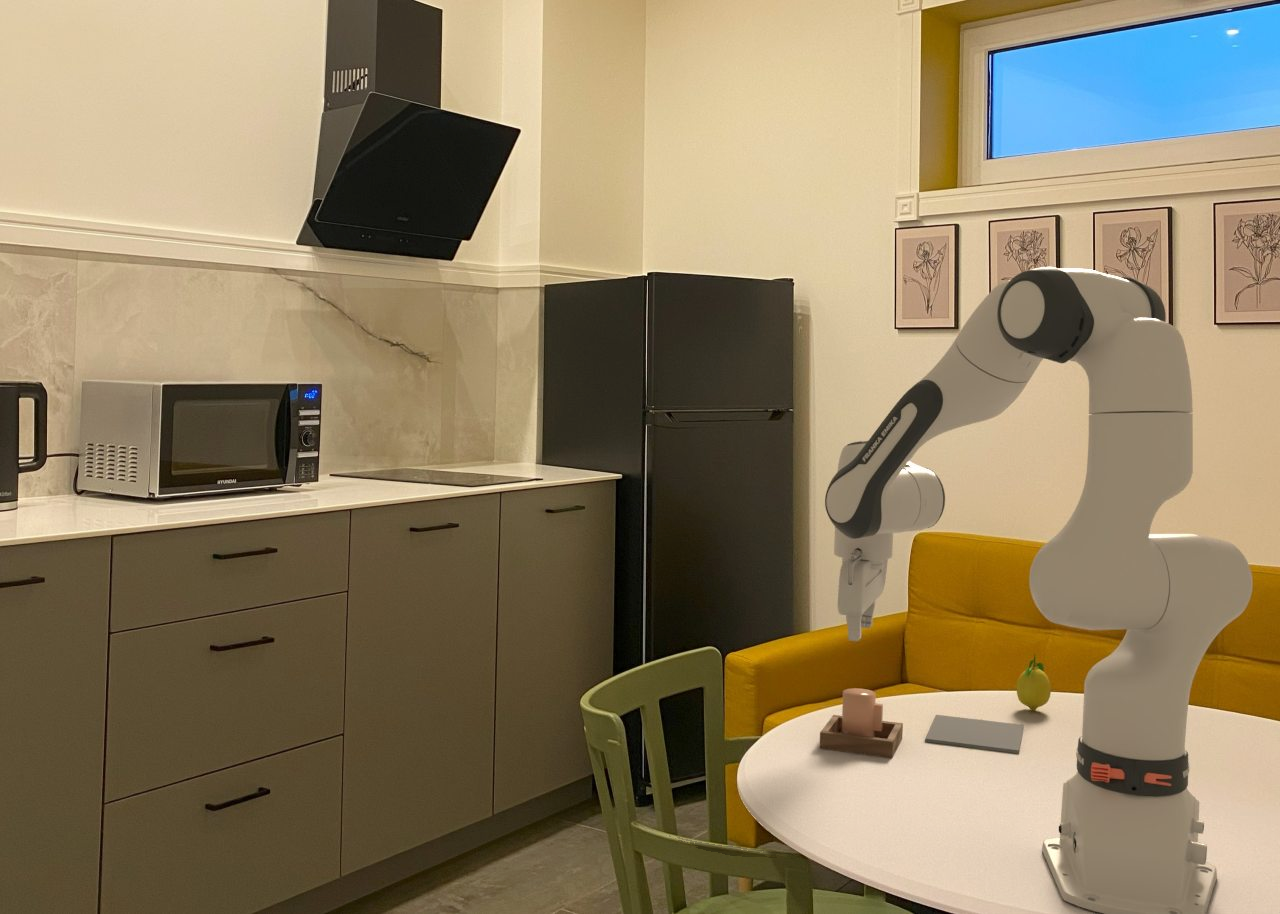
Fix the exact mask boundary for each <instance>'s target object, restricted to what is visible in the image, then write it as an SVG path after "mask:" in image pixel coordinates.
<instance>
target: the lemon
mask: <svg viewBox="0 0 1280 914" xmlns="http://www.w3.org/2000/svg"><path fill="white" fill-rule="evenodd" d="M1036 657H1037V655H1036V653H1034V654H1033V660H1030V661H1029V664H1028V666H1027V667H1026V668H1025V670H1024V671H1023V672H1021V674H1020V675H1019V677H1018V679H1017V683H1016V695H1017V699H1018V701H1019V702H1020V703H1021V704H1022V705H1024V706H1026V707H1027V708H1029V710H1030V711H1032V712H1033V711H1034V712H1035V711H1036V710H1037V709H1038V708H1040V707H1042V706H1044V705H1046V704H1047V703H1048V702H1049V700H1050V698H1051V693H1052V692H1051V691H1052V690H1051V683H1050V680H1049V677H1048V675H1047V674H1046V673H1045V667H1044V665H1043V663H1042V662H1038V663H1036Z"/></svg>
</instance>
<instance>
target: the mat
mask: <svg viewBox="0 0 1280 914" xmlns="http://www.w3.org/2000/svg"><path fill="white" fill-rule="evenodd" d="M1024 728H1025V727H1024V724H1021V723H1010V722H1002V721H994V720H985V719H979V718H978V719H976V718H969V717H968V718H967V717H960V716H959V717H958V716H951V715H943V714H942V715H941V714H935V715H934V718H933V721H932V723H931V725H930V727H929V729H928V732H927V733H926V735H925V738H924V742H925V743H933V744H940V745H948V746H956V747H957V746H958V747H963V748H973V749H981V750H987V751H989V750H990V751H996V752H1003V753H1009V754H1010V753H1013V754H1020V751H1021V745H1022V741H1023V740H1022V738H1023V734H1024Z"/></svg>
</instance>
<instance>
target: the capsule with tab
mask: <svg viewBox="0 0 1280 914" xmlns="http://www.w3.org/2000/svg"><path fill="white" fill-rule="evenodd" d="M841 706H842V709H841V710H842V713H841V716H842V733H845V734H853V735H860V736H868V737H874V733H875V731H882V721H883V714H884V713H883V712H884V710H883V709H884V707H883V706H884V704H883V703H876V692H874V690H871V689H865V688H856V687H854V688H846V689H844V690H842V705H841Z"/></svg>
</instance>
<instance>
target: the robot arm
mask: <svg viewBox="0 0 1280 914" xmlns="http://www.w3.org/2000/svg"><path fill="white" fill-rule="evenodd" d="M1165 309H1166V308H1165V304H1164V302H1163V300H1162V298H1161V296H1160V295H1159V294H1158V292H1157V291H1156V290H1155V289H1154V288H1152V287H1150V286H1149V285H1148V284H1145V283H1143V282H1141V281H1139V280H1137V279H1134V278H1130V277H1127V276H1125V277H1124V276H1120V277H1119V276H1117V275H1116V276H1115V275H1111V274H1109V273H1108V274H1107V273H1103V272H1099V271H1096V270H1093V269H1087V268H1085V269H1084V268H1059V267H1058V268H1057V267H1055V266H1044V267H1043V266H1042V267H1037V268H1036V267H1035V268H1031V269H1028V270H1024V271H1022V272H1020V273H1018V274H1016V275H1015V276H1014V277H1013V278H1011V279H1007V280H1004V281H1002V282H1001V283H999V284H997V285H996V286H995V287H994V288H993V289H992V290H991V291H990V292H989V293H988V294H987V295H986V296H985V298H984V299H983V300H982V301H981V302H980V304H979V305H978V306H977V307H976V309H974V310H973V312H972V313H971V315H970V316H969V318H968V319H967V320H966V322H965V323H964V325H963V327H961V330H960V331H959V333H958V334H957V336H956V337H955V339H954V340H953V342H952V344H951V346H950V347H949V348H948V349H947V351H946V352H945V354H944V355H943V356H942V357H941V358H940V360H938V362H937V363H936V364H935V366H934V367H933V368H932V369H931V370H930V371H928V373H927V374H925V375H924V377H922V378H921V379H920V380H919V381H918V382H916V383H915V384H914V385H912V386H911V387H910V388H909V389H908V390H907V391H906V392H905V393H904V394H903V395H902V396H901V397H900V399H899V400H898V401H897V402H896V404H895V405H894V406H893V408H892V409H891V410H890V411H889V413H888V414H887V415H886V417H884V419H883V421H881V423H880V425H879V426H878V427H877V428H876V429H875V431H874V433H873V434H872V435H871V437H870V438H869V439H868V440H862V441H861V440H859V441H853V442H850V443H848V444H847V445H845V446H843V448H842V450H841V452H840V455H839V457H838V458H839V459H838V464H837V470H836V471H837V472H836V473H835V474H834V476H833V477H832V478H831V480H830V482H829V483H828V487H827V489H826V492H825V498H824V499H825V500H824V507H825V511H826V514H827V516H828V518H829V520H830V522H831V523H832V524H833V526H834V544H833V545H834V546H833V547H834V549H833V554H834V556H836V557H839V558H841V566H840V569H839V576H838V577H839V579H838V591H837V592H838V593H837V612H838V614H839V615H840V616H841V615H843V616H845V619H846V625H847V639H848V641H850V642H851V641H852V642H859V641H860V640H861V638H862V634H863V633H862V632H863V631H862V630H863V629H870V628H871V627H872V626H873V621H874V620H873V619H874V614H875V613H874V612H875V607H876V601H877V599H878V598H879V597H880V596H881V595H882V594H883V592H884V589H885V585H886V578H887V572H888V571H887V570H888V561H889V560H890V559H891V558H893V546H894V544H893V543H894V534H898V533H899V534H900V533H905V532H915V531H922V530H926V529H929V528H932V527H934V526H935V525H936V524H937V523H939V520H940V518H941V517H942V515H943V513H944V510H945V505H946V495H945V492H946V491H945V488H944V485H943V483H942V481H941V479H940V477H939V476H938V475H937V474H936V473H935V472H934V471H933V470H931V469H930V468H927V467H922V466H921V465H918V464H916V463H914V462H912V461H911V459H912V458H913V457H914V455H915V454H916V453H917V451H919V450H920V448H922V446H923V445H924V444H926V443H927V442H929V441H930V440H932V439H934V438H936V437H937V436H940V435H942V434H944V433H946V432H949V431H953V430H955V429H958V428H961V427H965V426H970V425H972V424H977V423H981V422H984V421H988V420H991V419H993V418H996V417H998V416H999V415H1001V414H1002V413H1003V412H1005V410H1006V409H1008V408H1009V407H1010V406H1011V405H1012V404H1013V403H1014V402H1015V401H1016V400H1017V398H1018V397H1020V395H1021V394H1022V392H1023V391H1024V389H1025V387H1026V386H1027V385H1028V383H1029V381H1030V380H1031V378H1032V377H1033V375H1034V374H1035V372H1036V370H1037V369H1038V367H1039V366H1040V364H1041V362H1042V361H1043V359H1046V360H1049V361H1052V362H1055V363H1058V364H1066V363H1067V362H1068V361H1070V362H1075V363H1076V364H1078V365H1080V366H1081V367H1082V369H1083V370H1084V371H1085V374H1086V376H1087V380H1088V438H1087V439H1088V442H1087V444H1088V445H1087V446H1088V447H1087V448H1088V449H1087V461H1086V462H1087V464H1086V474H1085V480H1084V485H1083V489H1082V493H1081V495H1080V498H1079V500H1078V503H1077V505H1076V507H1075V509H1074V511H1073V512H1072V515H1071V516H1070V517H1069V519H1068V520H1067V522H1066V524H1065V525H1064V526H1063V528H1061V530H1060V531H1059V532H1058V533H1057V534H1056V535H1055V536H1054V537H1052V538H1051V539H1050V540H1049V541H1048V542H1046V543H1044V545H1042V547H1041V548H1040V549H1039V550H1038V552H1037V553H1036V555H1035V556H1034V558H1033V561H1032V563H1031V565H1030V569H1029V578H1028V580H1029V581H1028V582H1029V584H1028V585H1029V590H1030V594H1031V598H1032V600H1033V603H1034V604H1035V606H1036V608H1037V609H1038V610H1039V612H1040V613H1041V614H1042V616H1044V618H1045V619H1046V620H1048V621H1049V622H1051V623H1054V624H1055V625H1056V624H1057V625H1061V626H1066V627H1070V628H1076V629H1082V630H1088V631H1113V630H1115V631H1118V630H1119V631H1120V630H1126V632H1125V635H1124V636H1123V639H1122V640H1121V642H1120V643H1119V645H1118V646H1117V648H1116V649H1114V651H1112V652H1111V653H1110V654H1109V655H1108V656H1106V657H1105V658H1103V659H1101V660H1099V661H1098V662H1096V664H1094V665H1093V666H1091V668H1090V669H1089V671H1088V673H1087V674H1086V677H1085V679H1084V682H1083V683H1084V684H1083V685H1084V687H1083V689H1084V690H1083V704H1082V705H1083V706H1082V707H1083V710H1082V711H1083V712H1082V732H1081V733H1082V735H1081V736H1080V737H1079V738H1078V741H1077V742H1078V743H1077V747H1076V751H1075V753H1076V755H1075V756H1076V757H1075V758H1076V770H1077V772H1076V773H1075V774H1074V775H1073V776H1072V777H1071V778H1070V779H1068V780H1067V781H1065V782H1064V783H1063V784H1062V793H1061V795H1062V796H1061V797H1062V799H1061V811H1060V823H1059V825H1058V833H1059V837H1053V838H1047V839H1045V840H1043V841H1042V847H1041V850H1042V852H1043V855H1044V858H1045V861H1046V863H1047V865H1048V867H1049V870H1050V873H1051V874H1052V876H1053V879H1054V882H1055V884H1056V885H1057V889H1058V892H1059V894H1060V895H1061V898H1062V899H1063V900H1064V901H1066V902H1067V903H1069V904H1072V905H1075V906H1077V907H1079V908H1082V909H1086V910H1089V911H1092V912H1096V913H1101V914H1207V912H1208V908H1209V904H1210V902H1211V901H1210V900H1211V898H1212V894H1213V891H1214V887H1215V884H1216V881H1217V878H1218V875H1217V874H1218V871H1217V867H1216V866H1215V865H1214V864H1212V863H1210V862H1207V854H1208V844H1206V843H1205V842H1199V834H1201V835H1202V834H1204V830H1205V829H1204V828H1205V823H1204V821H1202V820H1199V819H1200V801H1199V799H1197V798H1196V796H1195V795H1193V794H1192V793H1191V792H1190V791H1189V790H1188V787H1189V774H1190V762H1189V753H1188V751H1187V749H1186V737H1187V736H1186V733H1187V724H1188V723H1187V721H1188V712H1189V710H1188V709H1189V700H1190V694H1191V688H1192V684H1193V680H1194V678H1195V675H1196V673H1197V670H1198V667H1199V665H1200V663H1201V662H1202V659H1203V658H1204V655H1205V654H1206V652H1207V650H1208V648H1209V647H1210V645H1212V642H1213V641H1214V640H1215V638H1216V637H1217V636H1218V634H1219V633H1221V631H1222V630H1223V629H1224V628H1225V627H1226V626H1228V625H1229V624H1230V623H1231V622H1232V621H1234V620H1235V619H1237V618H1238V617H1240V616H1241V615H1242V614H1243V612H1245V610H1246V608H1247V607H1248V605H1249V602H1250V600H1251V597H1252V594H1253V593H1252V592H1253V584H1254V583H1253V582H1254V581H1253V575H1252V570H1251V567H1250V564H1249V562H1248V560H1247V558H1246V556H1245V555H1244V554H1243V552H1242V551H1241V550H1240V549H1239V547H1237V546H1236V545H1235V544H1233V543H1231V542H1229V541H1226V540H1224V539H1223V540H1221V539H1218V538H1214V537H1210V536H1205V535H1201V534H1194V533H1150V532H1151V527H1152V523H1153V521H1154V518H1155V516H1156V514H1157V512H1158V510H1160V508H1161V507H1162V505H1163V504H1164V503H1165V502H1167V501H1168V500H1170V499H1173V498H1174V497H1175V496H1178V495H1179V494H1180V493H1182V492H1183V491H1184V490H1185V489H1186V488H1187V487H1188V485H1189V483H1190V482H1191V479H1192V476H1193V471H1194V470H1193V469H1194V468H1193V467H1194V466H1193V465H1194V464H1193V463H1194V462H1193V461H1194V460H1193V457H1194V456H1193V454H1194V453H1193V450H1194V449H1193V448H1194V447H1193V445H1194V443H1193V438H1194V437H1193V435H1194V434H1193V432H1194V431H1193V430H1194V427H1193V425H1194V424H1193V421H1194V419H1193V418H1194V417H1193V412H1194V411H1193V410H1194V408H1193V393H1192V392H1193V391H1192V380H1191V373H1190V366H1189V365H1190V364H1189V360H1188V355H1187V351H1186V345H1185V342H1184V337H1183V336H1182V334H1181V332H1180V331H1179V330H1178V329H1177V328H1176V327H1175V326H1173V325H1172V324H1170V323H1168V322H1166V319H1167V318H1166V315H1167V314H1166V310H1165ZM862 628H863V629H862Z"/></svg>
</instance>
